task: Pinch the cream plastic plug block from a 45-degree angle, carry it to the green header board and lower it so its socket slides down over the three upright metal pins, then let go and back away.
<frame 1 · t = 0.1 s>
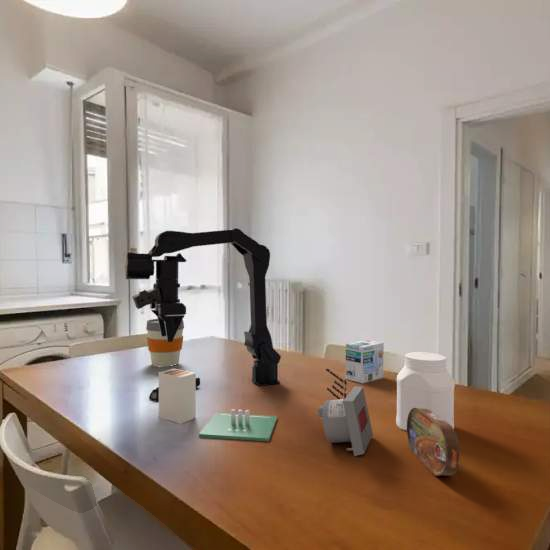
hand: (166, 339, 109), 15 cm above the table, tool pointing down, fingers open, 9 cm apart
tin: (431, 464, 72), on the table
plug block: (177, 417, 93), on the table
jar: (424, 427, 88), on the table
voltmeter: (341, 430, 87), on the table
header board: (240, 427, 87), on the table
electric trimmer: (175, 395, 110), on the table
light bulb box: (364, 379, 126), on the table
reusable coffee cup: (165, 364, 143), on the table
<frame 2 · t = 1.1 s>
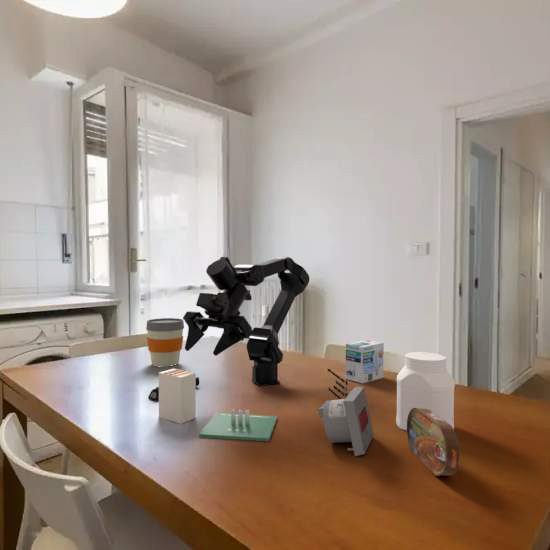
hand: (199, 352, 98), 13 cm above the table, tool tilted 45°, fingers open, 9 cm apart
nothing on the table moved.
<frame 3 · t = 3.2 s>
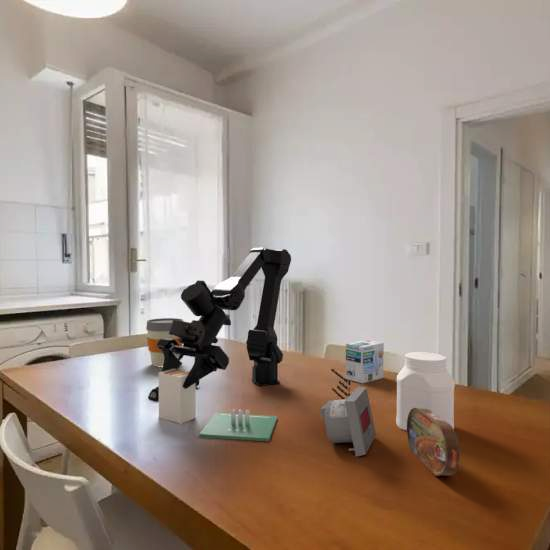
hand: (172, 384, 91), 8 cm above the table, tool tilted 45°, fingers closed on plug block, 7 cm apart
plug block: (177, 417, 93), on the table, touching gripper
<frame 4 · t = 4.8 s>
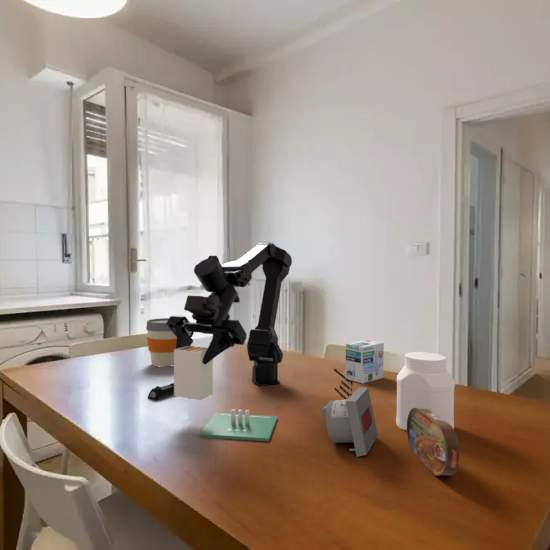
hand: (189, 361, 89), 13 cm above the table, tool tilted 45°, fingers closed on plug block, 7 cm apart
plug block: (193, 394, 90), point 6 cm above the table, touching gripper
when the fingers open (9 cm above the table, at t = 7.3 s): plug block stays where it is, resting on header board.
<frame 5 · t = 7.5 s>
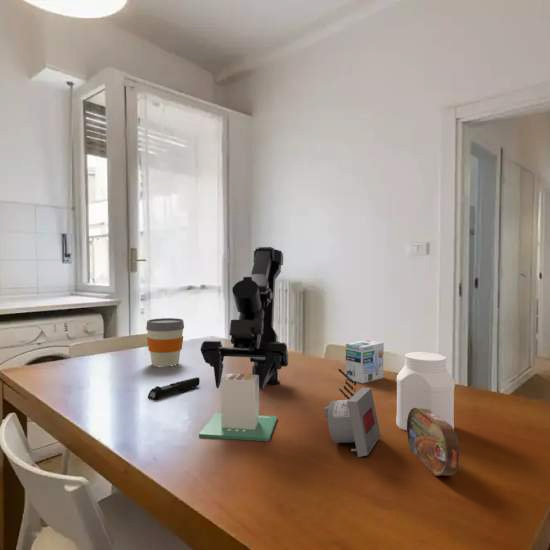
hand: (238, 388, 86), 9 cm above the table, tool tilted 45°, fingers open, 9 cm apart
plug block: (240, 424, 87), point 1 cm above the table, touching header board
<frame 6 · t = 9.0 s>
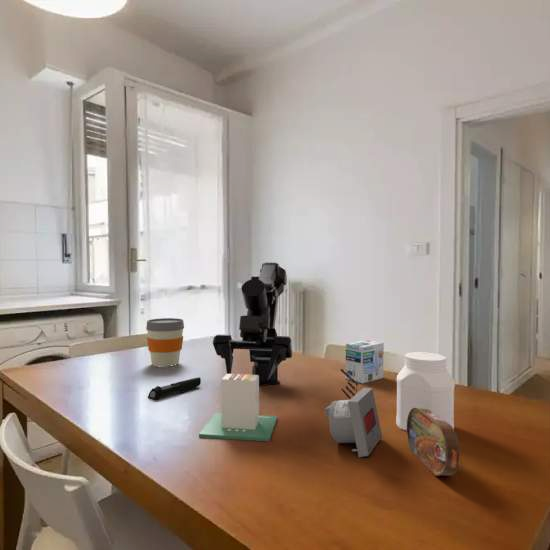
hand: (248, 377, 95), 8 cm above the table, tool tilted 45°, fingers open, 9 cm apart
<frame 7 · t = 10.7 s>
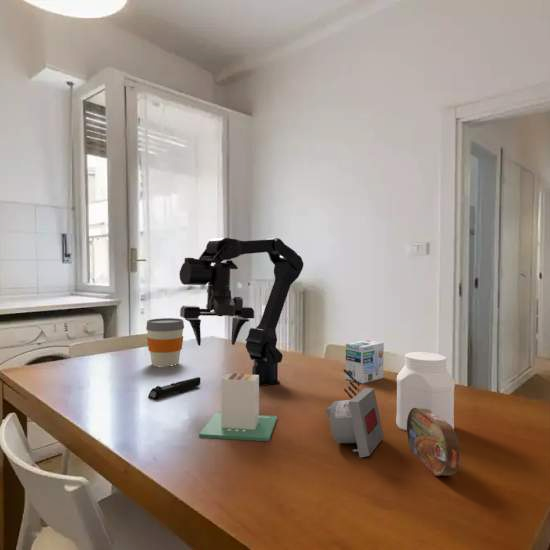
hand: (216, 345, 109), 13 cm above the table, tool pointing down, fingers open, 9 cm apart
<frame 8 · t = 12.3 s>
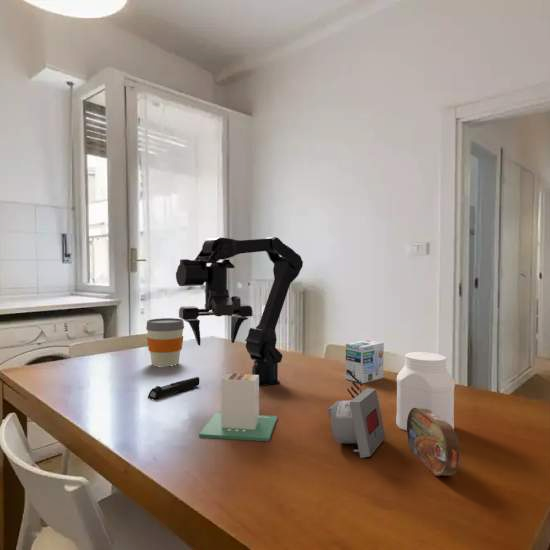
hand: (216, 344, 110), 13 cm above the table, tool pointing down, fingers open, 9 cm apart
at the end: plug block 0.0 cm off-centre on the header board, point 0.6 cm above the header board's base; plug block tilted 0°; the gripper is holding nothing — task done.
